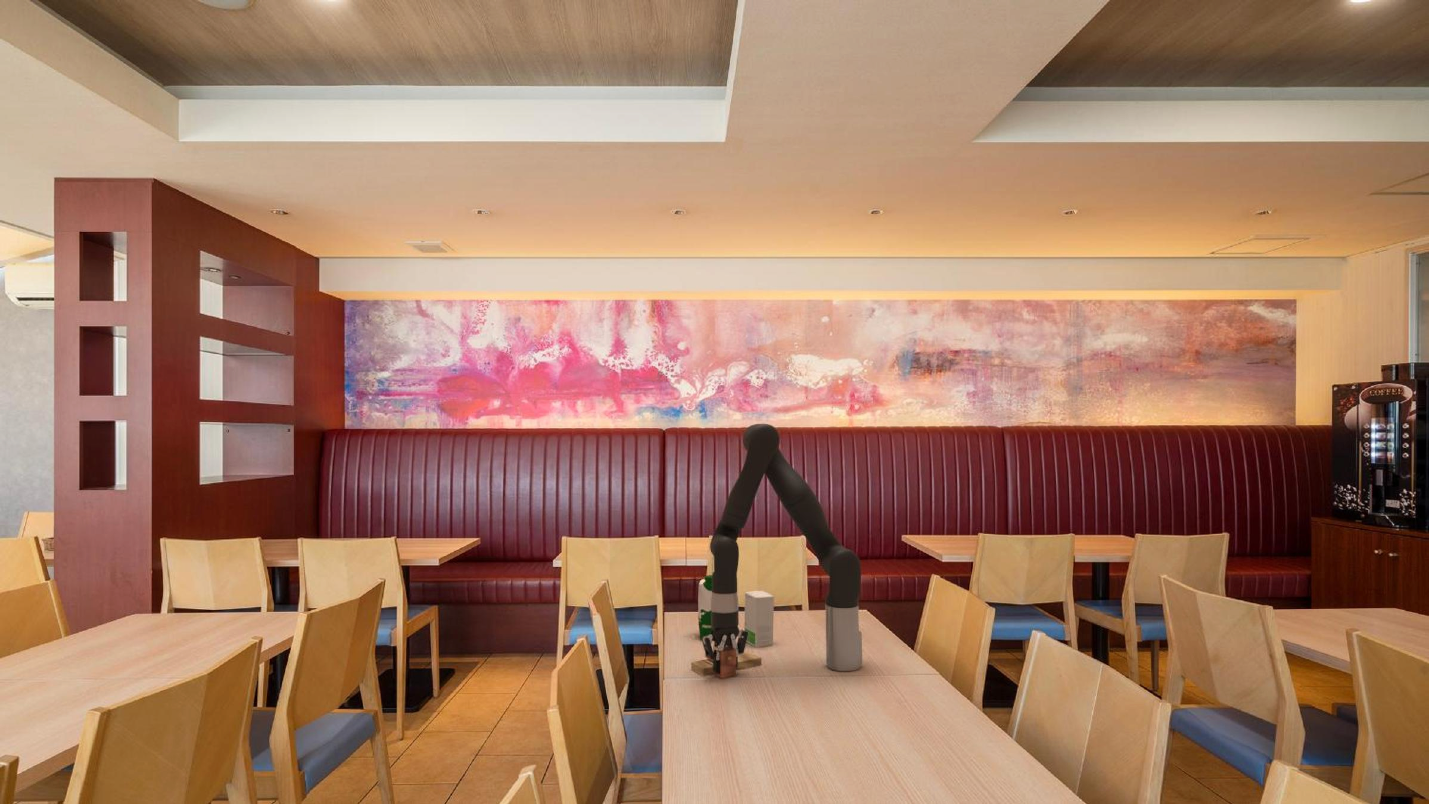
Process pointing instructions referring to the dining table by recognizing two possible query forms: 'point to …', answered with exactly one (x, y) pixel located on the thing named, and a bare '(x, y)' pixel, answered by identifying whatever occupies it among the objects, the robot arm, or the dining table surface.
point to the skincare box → (759, 618)
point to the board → (743, 662)
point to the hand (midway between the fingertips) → (725, 671)
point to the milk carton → (705, 606)
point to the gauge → (727, 662)
